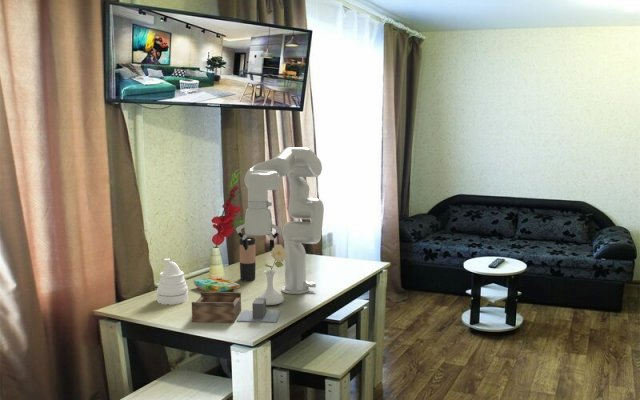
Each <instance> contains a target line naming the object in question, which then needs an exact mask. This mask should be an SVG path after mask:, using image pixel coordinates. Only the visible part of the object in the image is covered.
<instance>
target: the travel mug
mask: <svg viewBox="0 0 640 400" xmlns="http://www.w3.org/2000/svg"><path fill="white" fill-rule="evenodd" d="M247 239H248V249H247V250H245V248H243V239H242V238H241V237H240V238H239V273H240V281H243V282H252V281H255V280H256V263H257V262H256V239H255V238H254V237H252V236H250V237H249V236H247Z"/></svg>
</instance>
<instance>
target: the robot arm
mask: <svg viewBox="0 0 640 400" xmlns="http://www.w3.org/2000/svg"><path fill="white" fill-rule="evenodd" d="M322 164H323V163H322V162H321V159H320V158H319V157H318V156H317V154H315V152H314V151H313V150H311V149H310V148H308V147H295V146H294V147H291V146H290V147H286V148H284V149H283V150H281V151H280V152H279V153H278V154H277V155H276V156H275V157H274V158H271V159H268V160H266V161H262V162H259V163H257V164H254V165H253V166H251V168H249V169H248V170H247V171H246V173H245V175H244V179H243V180H244V185H245V186H246V188H247V208H246V210H245V215H244V216H245V217H244V223H242V224H241V225H239V226H237V227H236V228H235V231H236V233H237V235H238V236H239V237H240V238H242V239H243V248H245V250H247V249H248V239H247V237H249V236H268V238H269V251H271V250H272V249H273V248H274V245H275V239H276V238H277V237H278V236H279V234H280V232H281V231H282V239H283V243H284V244H283V245H284V246H283V248H285V250H286V252H287V253H286V254H287V256H286V257H287V259H285V260H284V285H283V286H281V292H283V293H285V294H287V295H288V294H290V295H302V294H306V293H308V292H309V291H310V288H316V287H317V283H316V282H313V281H308V279H307V277H306V276H307V266H306V265H307V252H306V249H305V247H304V245H303V244H308V245H309V244H310V245H311V244H312V245H315V244H318V243H319V242H320V240H321V238H322V232H323V225H324V224H323V223H324V210H325V209H324V208H325V207H324V203H323V201H322V200H321V199H319V198H316V197H315V198H313V197H310V185H309V183H308V182H307V180H306V179H305V178H317V177H319V176H320V175H321V174H322V171H323V170H322V169H323V165H322ZM285 176H287V179H288V182H289V183H290V185H289V186H290V191H289V192H290V193H289V200H288V215H289V216H290V218H293V219H299V221H298V220H293V221H291V220H290V221H288V222H287V221H286V222H285V223H284V225H283V226H282V228H281V226H278V225H276V224H275V223H273V220H272V212H271V208H270V207H272V206H273V205H272V204H273V203H272V202H271V201H269V191H276V190H277V189H279V188H280V186H281V184H282V177H285ZM300 220H310V221H300ZM242 229H244V233H245V234H244V233H243V232H242ZM273 229H274V230H275V231H276V232H275V233H273Z"/></svg>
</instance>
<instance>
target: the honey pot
mask: <svg viewBox="0 0 640 400" xmlns="http://www.w3.org/2000/svg"><path fill="white" fill-rule="evenodd" d="M163 262H164V263H165V264H166V265H165V267H164V269H163V271H162V272H161V271H160V273H159V277H160V279H159V282H158V285H157V288H156V301H157V303H158V304H160V303H161V304H160V305H167V304H169V305H179V304H182V303H185V302H188V300H189V286H188V285H187V282H186V278H185V277H184V275H185V273H184V271H183V270H181V269H180V267H179V266H178V264H177V263H176V262H174V261H171V258H164V259H163Z"/></svg>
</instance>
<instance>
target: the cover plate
mask: <svg viewBox="0 0 640 400" xmlns="http://www.w3.org/2000/svg"><path fill="white" fill-rule="evenodd" d="M251 306H252V310H244V309H243V311H241V313H240V314H239V316H238V317H237V319H236V322H238V323H270V324H271V323H274V324H277V323H278V320H279V318H280V315H281V314H282V313H281V312H282V311H281V310H280V311H279V310H277V311H276V310H267V305H266V298H257V297H255V299H254V300H253V302H252V305H251Z"/></svg>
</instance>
